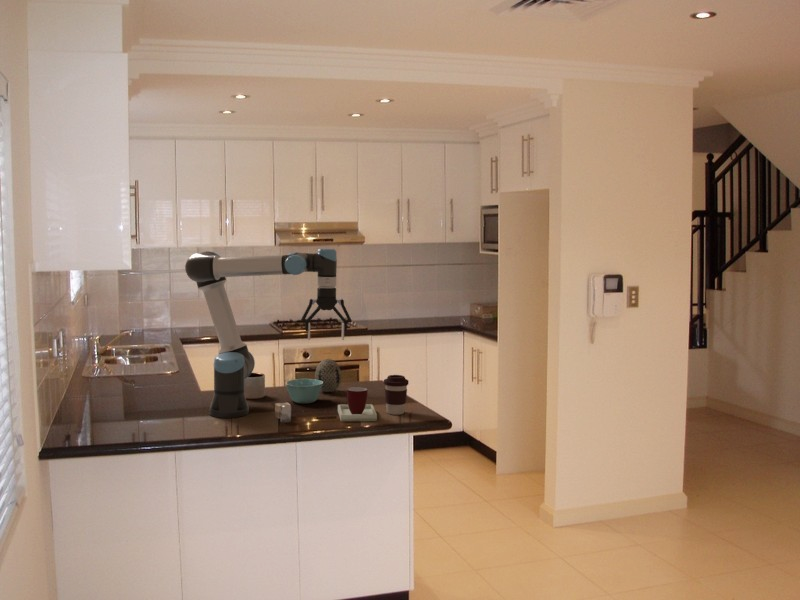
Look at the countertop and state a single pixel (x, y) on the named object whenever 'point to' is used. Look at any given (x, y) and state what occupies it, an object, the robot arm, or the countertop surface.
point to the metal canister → (285, 413)
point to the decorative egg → (328, 375)
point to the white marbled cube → (278, 408)
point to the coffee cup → (395, 394)
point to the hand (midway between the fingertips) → (325, 339)
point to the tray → (367, 414)
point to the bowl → (304, 390)
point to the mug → (356, 399)
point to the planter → (254, 386)
